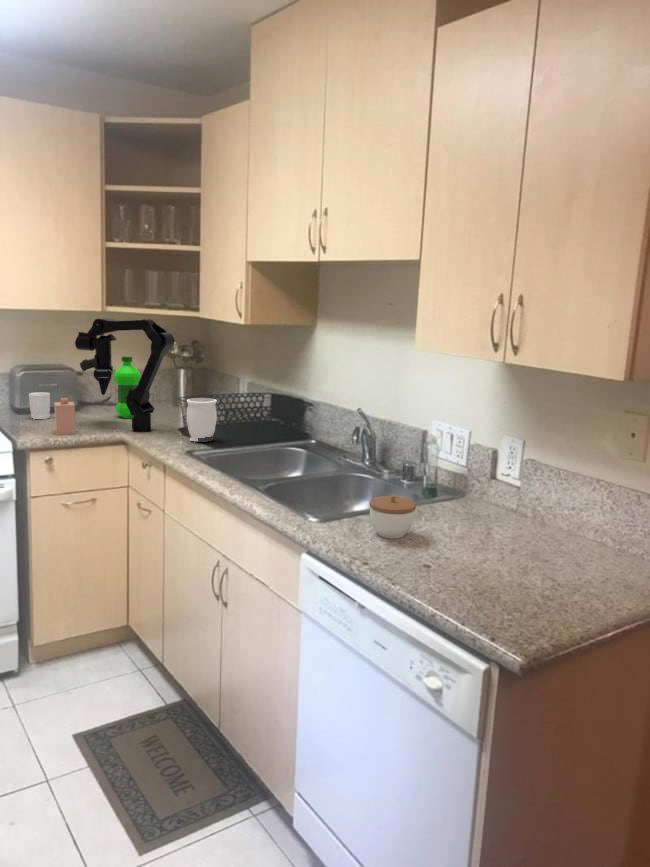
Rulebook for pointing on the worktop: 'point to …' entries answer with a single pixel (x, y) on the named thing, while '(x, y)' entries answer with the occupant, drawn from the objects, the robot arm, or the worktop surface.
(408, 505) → the lidded jar
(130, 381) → the plastic bottle
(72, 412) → the pink square bottle
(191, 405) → the jar
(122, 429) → the worktop surface
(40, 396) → the white cup
